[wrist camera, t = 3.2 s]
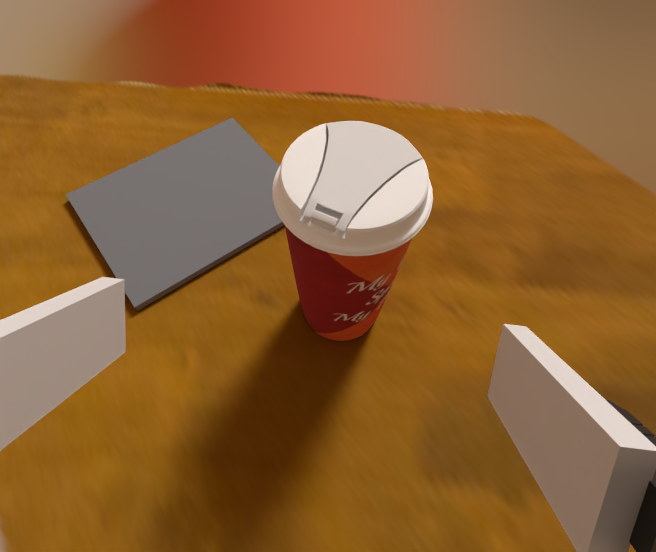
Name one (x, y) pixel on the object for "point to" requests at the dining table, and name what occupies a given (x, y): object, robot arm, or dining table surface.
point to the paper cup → (349, 219)
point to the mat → (181, 210)
